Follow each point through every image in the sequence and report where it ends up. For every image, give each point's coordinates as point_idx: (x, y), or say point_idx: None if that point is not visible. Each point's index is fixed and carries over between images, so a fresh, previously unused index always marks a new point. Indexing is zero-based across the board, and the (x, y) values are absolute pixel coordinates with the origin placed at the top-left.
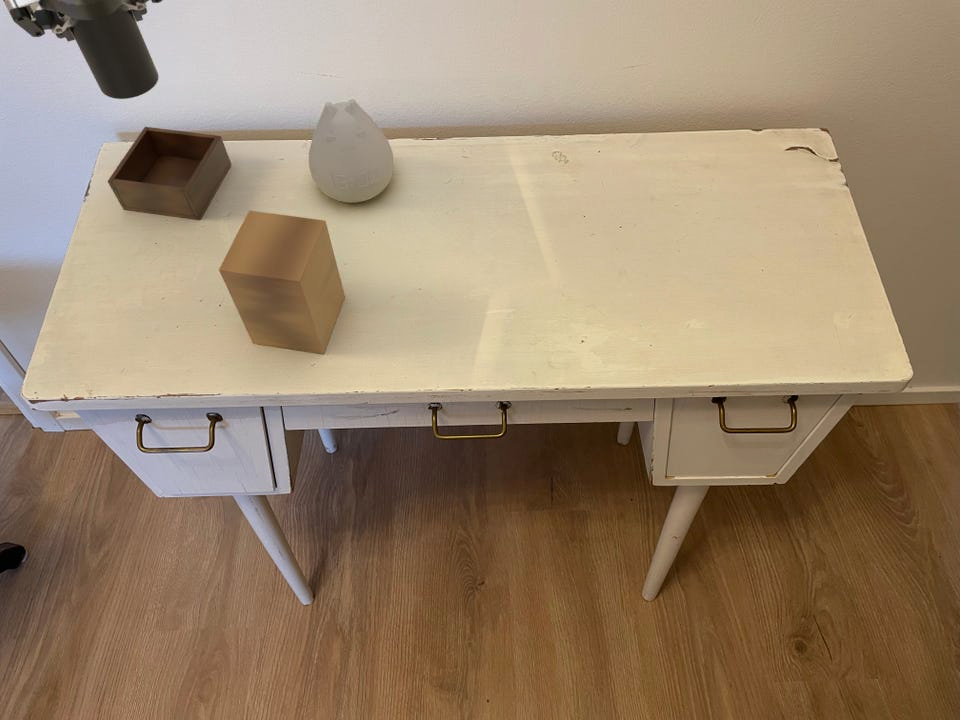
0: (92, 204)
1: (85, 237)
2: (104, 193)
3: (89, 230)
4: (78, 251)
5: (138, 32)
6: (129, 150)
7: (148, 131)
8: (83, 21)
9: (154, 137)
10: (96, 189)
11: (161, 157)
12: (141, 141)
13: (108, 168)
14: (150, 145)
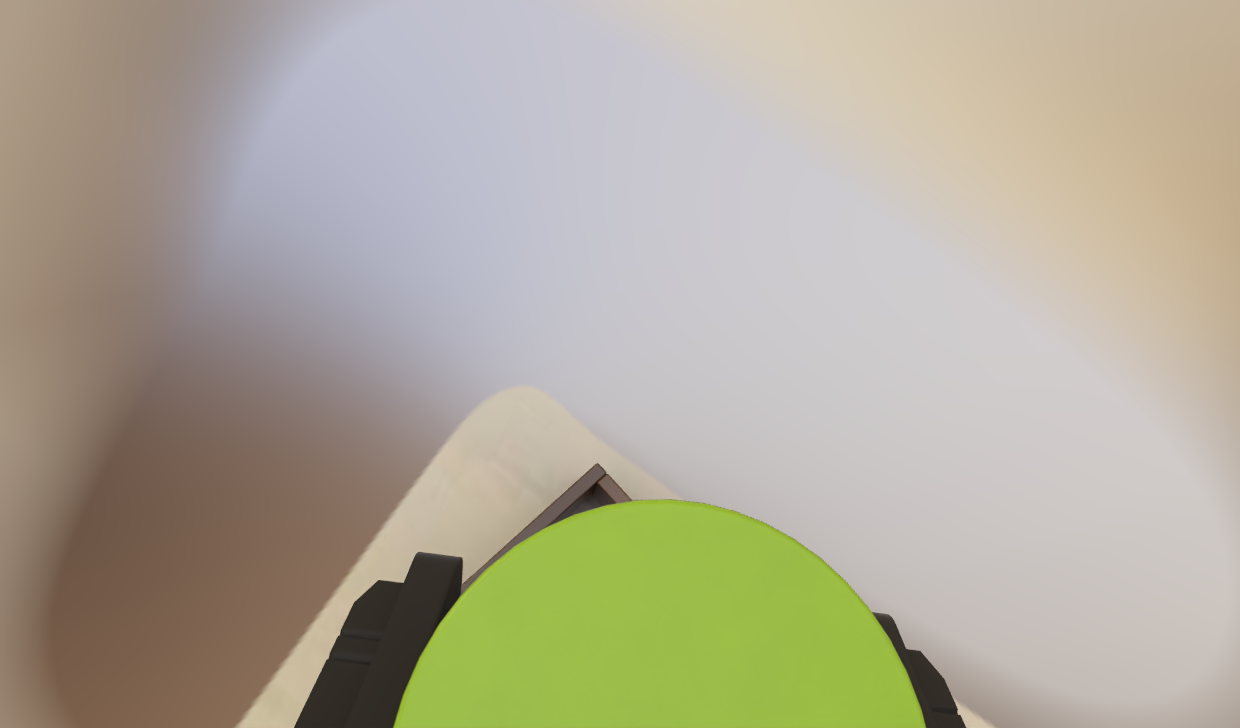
0: (365, 557)
1: (289, 678)
2: (410, 534)
3: (311, 656)
4: (247, 723)
5: None
6: (515, 541)
7: (597, 484)
8: None
9: (603, 494)
10: (401, 505)
11: (593, 507)
12: (562, 514)
13: (463, 444)
14: (582, 499)
